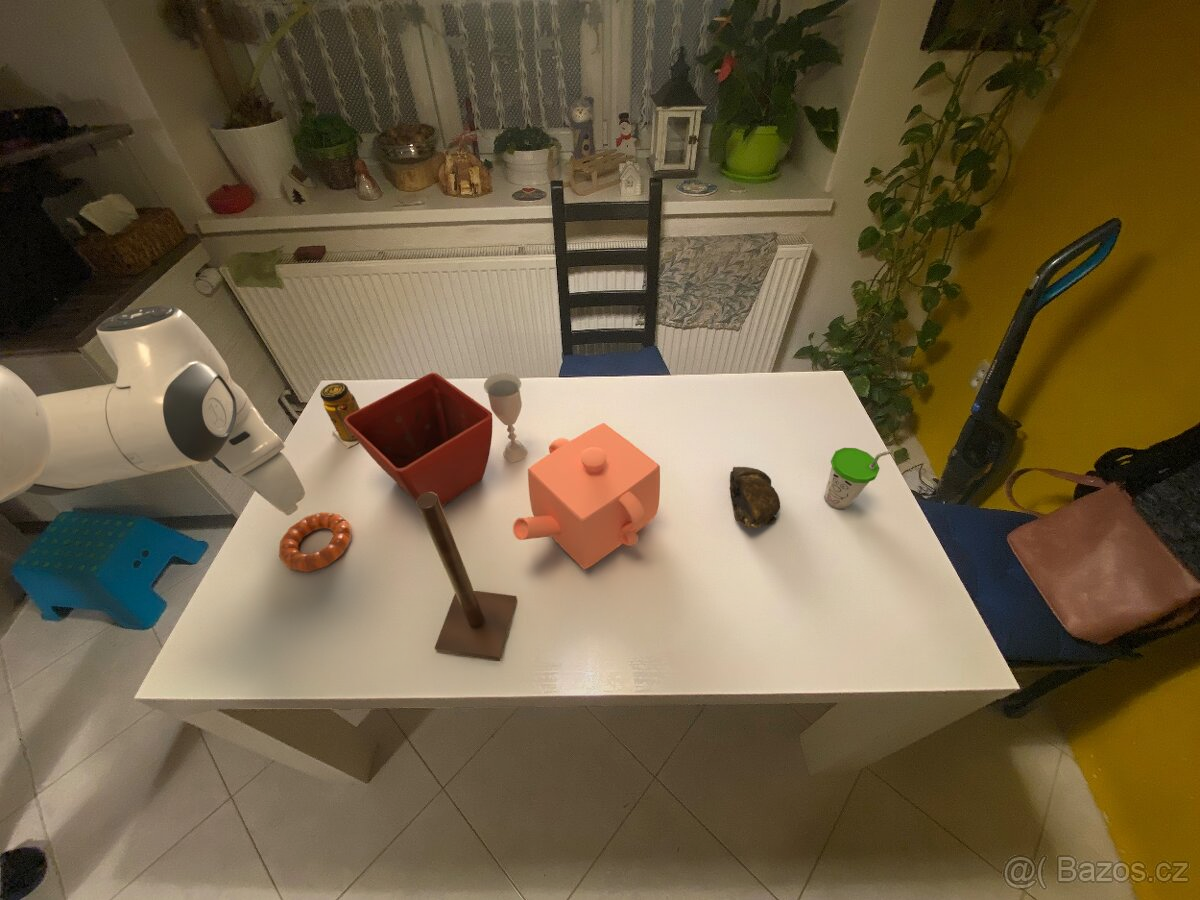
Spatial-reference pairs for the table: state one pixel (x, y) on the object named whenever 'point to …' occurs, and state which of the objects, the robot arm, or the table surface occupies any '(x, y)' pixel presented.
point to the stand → (466, 597)
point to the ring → (324, 556)
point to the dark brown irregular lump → (753, 497)
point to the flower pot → (427, 437)
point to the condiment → (340, 410)
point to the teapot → (591, 494)
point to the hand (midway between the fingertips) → (272, 495)
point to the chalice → (507, 409)
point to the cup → (850, 475)
